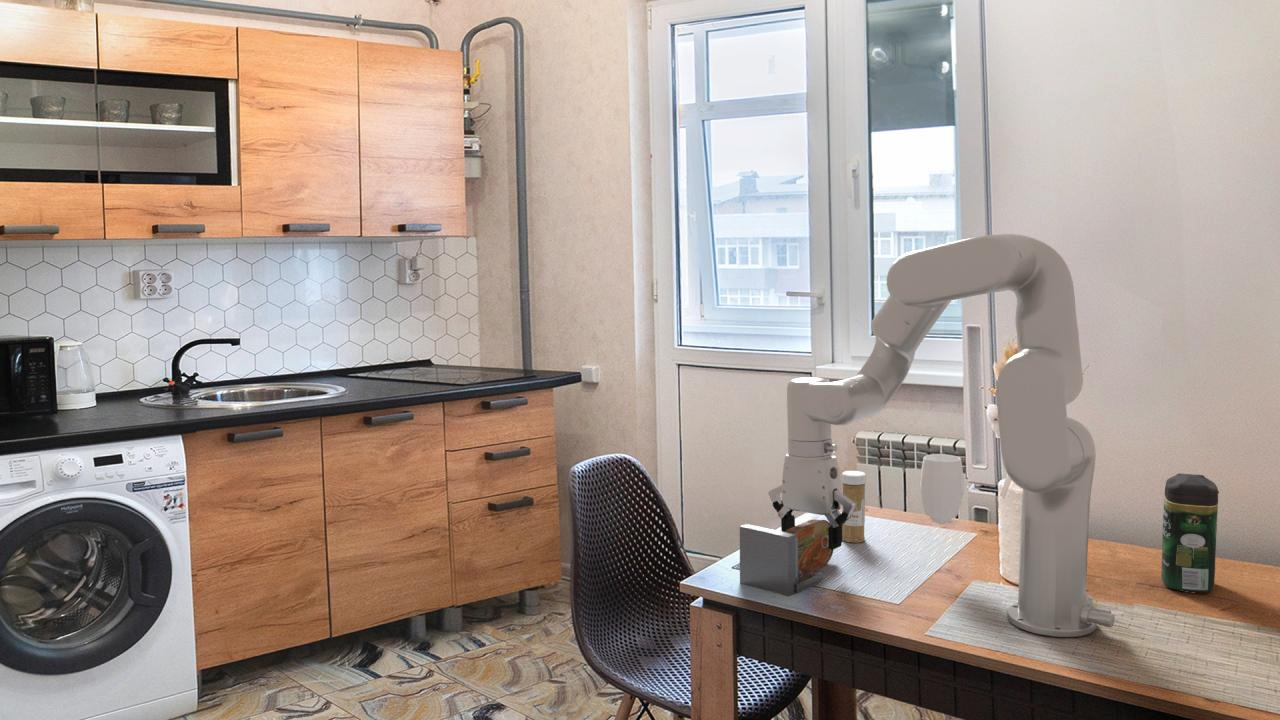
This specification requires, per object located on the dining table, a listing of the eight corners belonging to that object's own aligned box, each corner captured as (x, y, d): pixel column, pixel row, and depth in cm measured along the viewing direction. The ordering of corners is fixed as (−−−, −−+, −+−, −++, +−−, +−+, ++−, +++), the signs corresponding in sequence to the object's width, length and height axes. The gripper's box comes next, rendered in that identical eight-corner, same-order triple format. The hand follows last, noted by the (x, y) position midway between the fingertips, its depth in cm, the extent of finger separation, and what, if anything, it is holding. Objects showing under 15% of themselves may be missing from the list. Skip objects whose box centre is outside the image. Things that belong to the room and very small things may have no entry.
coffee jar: (1158, 573, 176) (1163, 468, 174) (1211, 579, 173) (1216, 472, 171) (1161, 591, 168) (1166, 481, 165) (1216, 597, 164) (1222, 485, 162)
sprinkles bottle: (838, 541, 197) (839, 474, 196) (845, 535, 201) (845, 469, 200) (861, 544, 195) (862, 476, 194) (868, 538, 199) (868, 471, 198)
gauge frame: (822, 580, 175) (823, 524, 174) (789, 596, 168) (790, 537, 167) (772, 568, 182) (772, 513, 181) (738, 582, 175) (738, 525, 174)
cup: (961, 582, 173) (963, 463, 171) (917, 578, 176) (919, 461, 173) (962, 569, 180) (964, 454, 178) (919, 566, 182) (921, 452, 180)
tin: (789, 582, 175) (789, 534, 174) (774, 578, 177) (774, 531, 176) (836, 561, 186) (836, 516, 185) (821, 557, 188) (821, 513, 187)
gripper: (864, 449, 176) (865, 546, 177) (781, 440, 187) (783, 530, 189) (841, 457, 170) (842, 556, 172) (756, 446, 182) (759, 540, 183)
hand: (811, 543), depth 180 cm, fingers open, 9 cm apart
